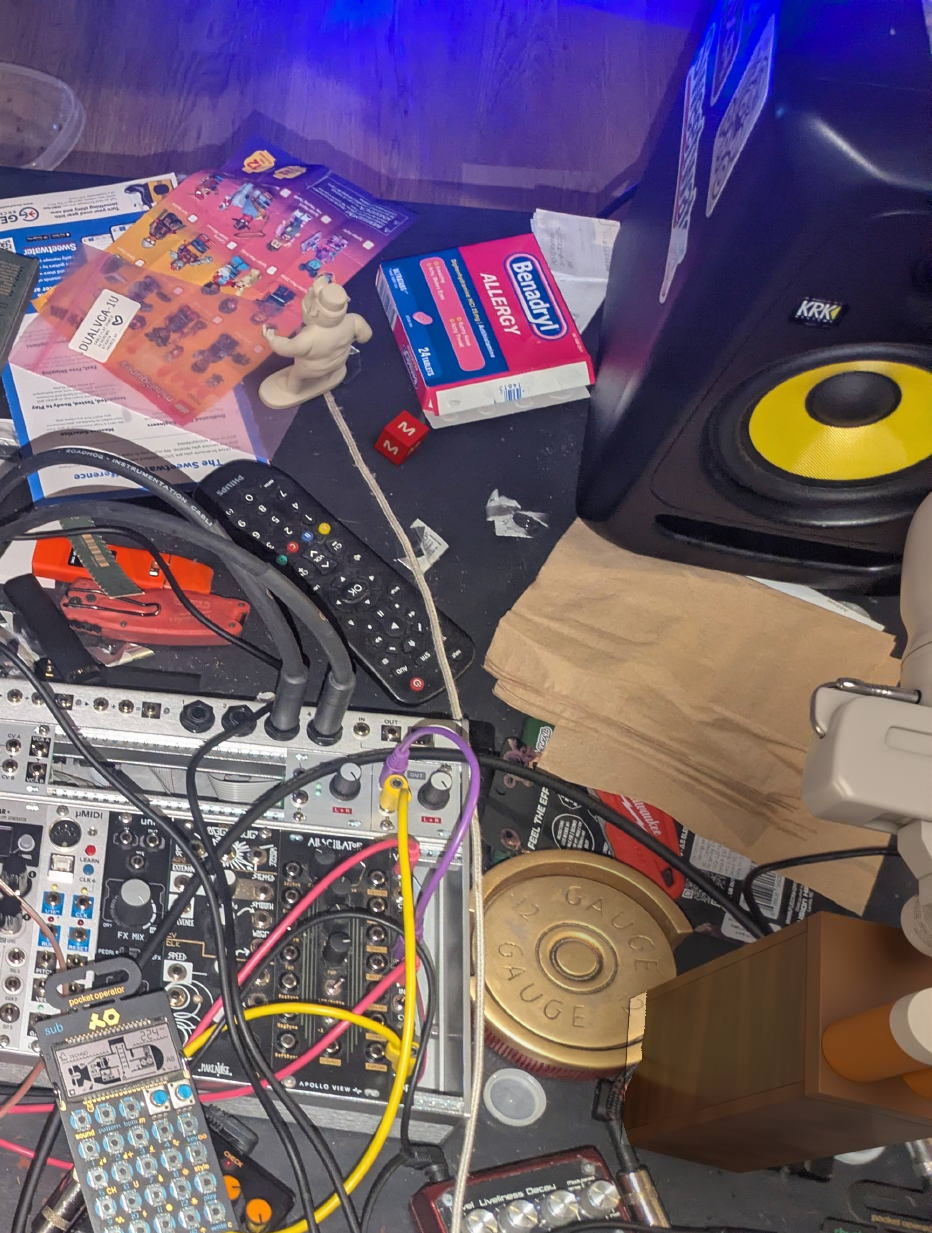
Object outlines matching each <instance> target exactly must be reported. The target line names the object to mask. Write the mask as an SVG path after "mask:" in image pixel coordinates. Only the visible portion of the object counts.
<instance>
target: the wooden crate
mask: <svg viewBox="0 0 932 1233" xmlns="http://www.w3.org/2000/svg"><path fill="white" fill-rule="evenodd" d="M808 917H809V916H807V917H805V918H802V919H800V920H798V921H796V922H793V923H791V924H789V925H787V926H785V927H782V928H780V929H778V930H776V931H773V932H771V933H769V934H767V935H764V936H763V937H761V938H759V939H757V940H754V941H752V942H750V943H748V944H745V945H743V946H741V947H739V948H736V949H734V950H732V951H730V952H728V953H725V954H724V955H721V956H719V957H717V958H715V959H713V960H710V961H708V962H705V963H704V964H702V965H699V966H697V967H694V968H693V969H691V970H689V971H686V972H684V973H682V974H680V975H678V976H675V977H673V978H670V979H669V980H666V981H665V982H662V983H660V984H658V985H655V986H653V987H651V988H648V989H647V990H646V991H647V992H646V993H647V994H646V996H647V997H646V1004H645V1005H646V1010H645V1011H646V1013H645V1014H646V1016H645V1026H644V1027H645V1029H644V1034H643V1039H642V1041H643V1042H642V1046H641V1049H642V1050H641V1051H642V1060H641V1061H640V1062H639V1064H638V1066H637V1067H636V1069H635V1070H634V1071H633V1074H632V1078H631V1080H630V1082H629V1084H628V1086H627V1090H626V1092H625V1101H624V1106H623V1105H622V1110H623V1117H622V1116H621V1122H622V1121H623V1123H624V1128H625V1130H626V1134H627V1138H628V1141H629V1143H630V1145H631V1146H630V1147H632V1148H636V1149H639V1150H644V1151H648V1152H651V1153H656V1154H660V1155H664V1156H669V1157H673V1158H677V1159H681V1160H685V1161H690V1162H693V1163H697V1164H701V1165H705V1166H709V1167H714V1168H718V1169H720V1170H721V1169H722V1170H726V1171H728V1172H729V1171H730V1172H733V1173H738V1174H743V1173H749V1172H754V1171H759V1170H765V1169H770V1168H774V1167H780V1166H785V1165H792V1164H797V1163H801V1162H808V1161H812V1160H818V1159H824V1158H830V1157H834V1156H835V1157H836V1156H840V1155H846V1154H851V1153H856V1152H861V1151H866V1150H873V1149H877V1148H884V1147H889V1146H895V1145H900V1144H905V1143H911V1142H916V1141H922V1140H927V1139H932V1126H928V1125H923V1124H919V1123H915V1122H911V1121H907V1120H902V1119H898V1118H894V1117H890V1116H886V1115H881V1114H877V1113H873V1112H869V1111H864V1110H860V1109H856V1108H852V1107H848V1106H843V1105H839V1104H835V1103H831V1102H826V1101H822V1100H818V1099H814V1098H810V1097H806V1096H804V1089H805V1036H806V982H807V929H808Z"/></svg>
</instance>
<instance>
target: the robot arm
mask: <svg viewBox="0 0 932 1233" xmlns="http://www.w3.org/2000/svg"><path fill="white" fill-rule="evenodd" d="M901 566H902V567H901V577H900V594H899V595H900V596H899V597H900V598H899V611H900V617H901V620H902V623H903V625H904V627H905V630H906V633H907V642H906V646H905V649H904V651H903V654H902V657H901V659H900V668H899V686H894V685H888V684H877V683H871V682H866V681H864V680H862V679H858V678H854V677H838V678H837V679H836V680H835V681H826V682H823V683H821V684H820V685H818V686H817V687H816V688H815V689H813V691H812V694H811V696H810V697H809V701H808V702H809V703H808V705H809V706H808V721H809V725H810V728H811V730H812V733H811V735H810V739H809V742H808V745H807V749H806V754H805V759H804V764H803V768H802V769H803V770H802V776H801V785H800V800H801V802H802V805H804V807H805V808H806V810H807V811H808V812H809V814H810V815H811V816H812V817H813V818H816V819H819V820H824V821H827V822H831V823H836V824H841V825H845V826H846V825H847V826H851V827H855V828H861V829H864V830H865V829H866V830H869V831H870V830H871V831H874V832H879V833H884V834H889V835H893V836H896V837H897V852H898V853H899V855H900V856H901V858H902V860H903V861H904V863H905V864H906V865H907V867H908V869H909V870H910V871H911V873H912V874H913V876H914V877H915V879H916V880H918V894H919V902H920V905H922V906H926V907H931V908H932V491H931V492H929V494H928V495H927V496H925V498H924V499H923V500H922V502H921V503H920V505H919V506H918V508H917V509H916V511H915V513H914V515H913V516H912V518H911V521H910V524H909V526H908V530H907V534H906V538H905V544H904V549H903V556H902V565H901Z"/></svg>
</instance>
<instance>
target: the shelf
mask: <svg viewBox="0 0 932 1233" xmlns="http://www.w3.org/2000/svg"><path fill="white" fill-rule="evenodd" d="M807 917H808V929H807V982H806V1036H805V1089H804V1096H806V1097H810V1098H814V1099H818V1100H822V1101H826V1102H831V1103H835V1104H839V1105H843V1106H848V1107H852V1108H856V1109H860V1110H864V1111H869V1112H873V1113H877V1114H881V1115H886V1116H890V1117H894V1118H898V1119H902V1120H907V1121H911V1122H915V1123H919V1124H923V1125H928V1126H932V1100H931V1099H928V1098H925V1097H923V1096H921V1095H919V1094H918V1093H916V1092H915V1091H913V1090H912V1089H911V1088H910V1087H909V1086H908V1085H907V1084H906V1082H905V1081H904V1080H903V1078H902V1076H901V1075H898V1076H894V1077H890V1078H886V1079H882V1080H878V1081H874V1082H870V1083H860V1082H855V1081H852V1080H849V1079H847V1078H845V1077H843V1076H842V1075H840V1074H839V1073H837V1072H836V1071H835V1070H834V1069H833V1068H832V1067H831V1065H830V1064H829V1063H828V1061H827V1060H826V1058H825V1055H824V1053H823V1049H822V1038H823V1034H824V1032H825V1030H826V1029H827V1027H828V1026H829V1025H830V1024H831V1023H833V1022H835V1021H837V1020H839V1019H842V1018H845V1017H848V1016H851V1015H854V1014H858V1013H861V1012H864V1011H867V1010H870V1009H873V1008H876V1007H879V1006H882V1005H885V1004H888V1003H891V1002H894V1001H897V1000H899V999H901V998H902V997H904V996H906V995H909V994H912V993H915V992H918V991H921V990H924V989H927V988H932V957H930V956H927V955H925V954H923V953H922V952H920V951H919V950H918V949H916V948H915V947H914V946H913V945H912V944H911V943H910V941H909V940H908V939H907V937H906V936H905V934H904V931H903V928H902V927H898V926H895V925H889V924H884V923H879V922H875V921H870V920H865V919H863V918H862V919H861V918H857V917H854V916H853V917H852V916H848V915H843V914H839V913H835V912H834V913H833V912H830V911H825V910H820V911H818V912H815V913H813V914H811V915H810V916H807Z"/></svg>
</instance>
